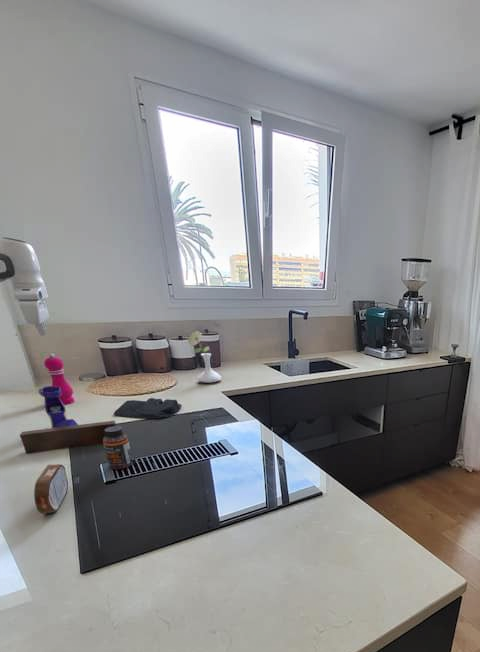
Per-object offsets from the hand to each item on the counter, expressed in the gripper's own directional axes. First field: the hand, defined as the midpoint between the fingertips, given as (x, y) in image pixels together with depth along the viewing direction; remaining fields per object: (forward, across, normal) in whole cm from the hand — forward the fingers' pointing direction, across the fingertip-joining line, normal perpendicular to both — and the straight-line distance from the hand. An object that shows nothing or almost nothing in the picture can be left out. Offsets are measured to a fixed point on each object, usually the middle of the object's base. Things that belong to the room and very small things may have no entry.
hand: (43, 335), depth 137 cm
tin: (+29, +74, +6) cm, 79 cm away
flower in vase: (+29, -28, +56) cm, 69 cm away
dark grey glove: (+29, +10, +28) cm, 42 cm away
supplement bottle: (+29, +58, +19) cm, 68 cm away
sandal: (+29, +24, +3) cm, 38 cm away
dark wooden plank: (+29, +36, +6) cm, 47 cm away
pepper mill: (+29, -16, -2) cm, 33 cm away
